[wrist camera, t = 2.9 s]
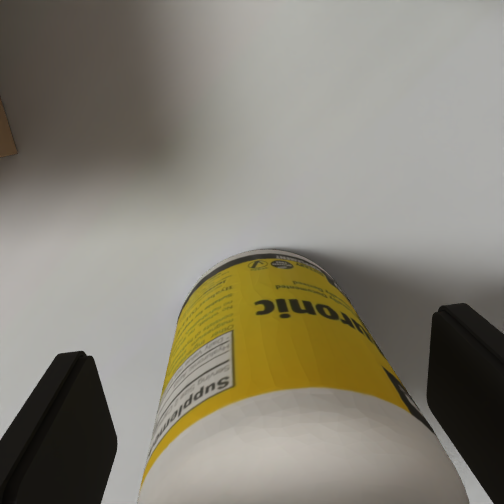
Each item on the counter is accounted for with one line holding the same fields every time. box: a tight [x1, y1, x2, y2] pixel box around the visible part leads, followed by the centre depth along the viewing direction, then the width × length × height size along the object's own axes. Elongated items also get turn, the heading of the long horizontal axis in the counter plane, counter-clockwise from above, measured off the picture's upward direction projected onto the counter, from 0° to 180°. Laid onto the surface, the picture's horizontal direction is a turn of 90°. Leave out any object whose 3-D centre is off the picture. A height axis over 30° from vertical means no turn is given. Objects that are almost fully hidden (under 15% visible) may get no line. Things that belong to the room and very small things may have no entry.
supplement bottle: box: [137, 250, 469, 504], centre depth 8 cm, size 5×5×10 cm
